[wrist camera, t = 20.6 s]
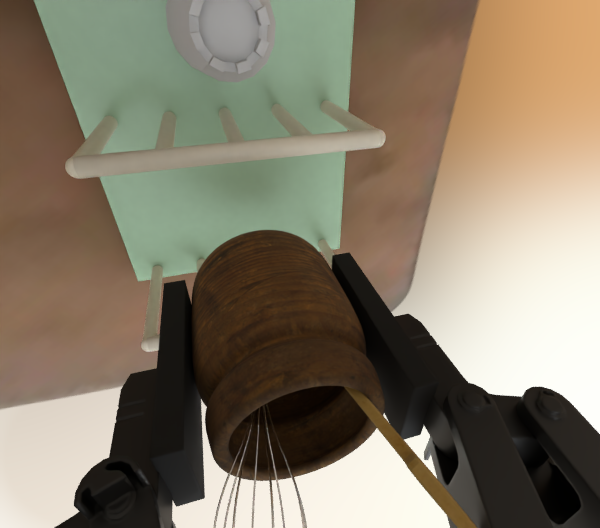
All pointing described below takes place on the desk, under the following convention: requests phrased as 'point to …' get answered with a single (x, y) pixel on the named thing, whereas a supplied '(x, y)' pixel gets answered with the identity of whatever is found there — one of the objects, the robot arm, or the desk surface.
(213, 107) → the drying rack
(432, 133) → the desk surface
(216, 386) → the utensil holder
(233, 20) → the rook chess piece
